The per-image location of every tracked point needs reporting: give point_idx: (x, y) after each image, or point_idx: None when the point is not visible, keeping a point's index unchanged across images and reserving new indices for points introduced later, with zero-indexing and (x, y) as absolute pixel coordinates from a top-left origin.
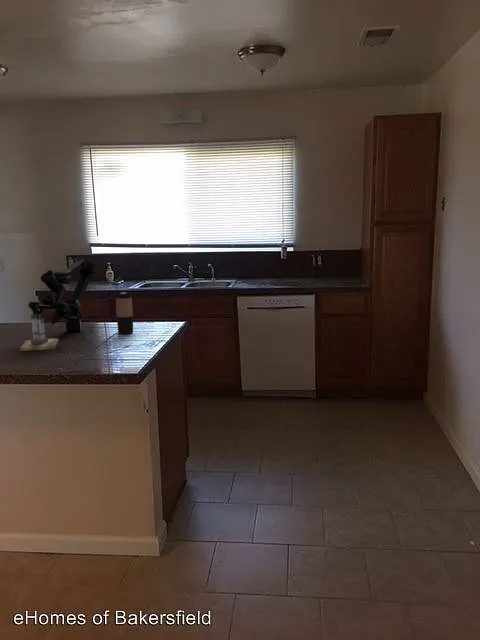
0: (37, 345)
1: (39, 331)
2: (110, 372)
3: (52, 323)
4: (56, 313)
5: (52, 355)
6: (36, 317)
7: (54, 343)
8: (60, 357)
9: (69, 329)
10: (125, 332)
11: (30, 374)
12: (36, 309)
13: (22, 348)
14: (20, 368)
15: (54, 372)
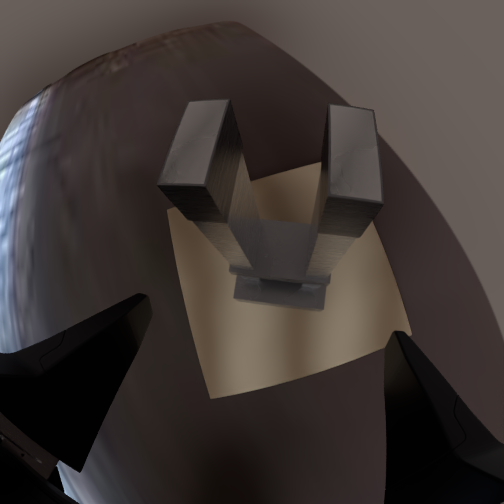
0: (270, 215)
1: (258, 217)
2: (42, 95)
3: (137, 299)
4: (34, 357)
5: (154, 133)
6: (319, 219)
7: (183, 270)
8: (123, 124)
9: None
10: None
11: (175, 30)
12: (464, 495)
13: None
14: (214, 38)
15: (127, 51)
